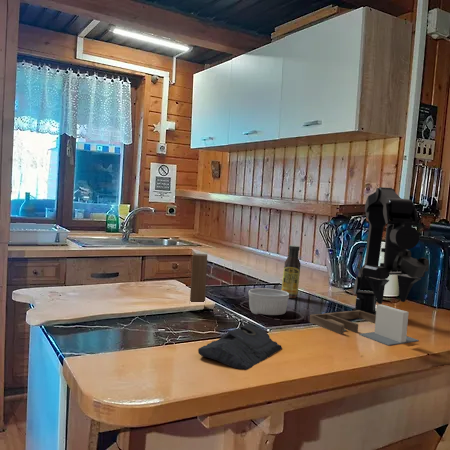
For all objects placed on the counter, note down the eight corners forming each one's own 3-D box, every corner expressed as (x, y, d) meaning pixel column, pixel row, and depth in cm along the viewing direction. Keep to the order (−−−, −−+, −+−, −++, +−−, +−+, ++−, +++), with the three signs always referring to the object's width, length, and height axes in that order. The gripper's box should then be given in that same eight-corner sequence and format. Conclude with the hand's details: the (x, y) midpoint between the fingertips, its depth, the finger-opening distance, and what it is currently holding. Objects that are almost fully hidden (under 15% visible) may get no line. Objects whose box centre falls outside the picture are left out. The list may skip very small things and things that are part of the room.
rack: (358, 319, 149) (359, 310, 149) (391, 330, 138) (392, 320, 138) (309, 324, 139) (310, 314, 139) (340, 337, 128) (341, 326, 127)
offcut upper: (330, 324, 138) (331, 319, 137) (344, 329, 132) (344, 324, 132) (322, 324, 136) (323, 319, 136) (335, 330, 131) (336, 324, 131)
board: (379, 332, 131) (381, 304, 131) (405, 341, 123) (408, 312, 123) (374, 333, 130) (376, 304, 130) (400, 342, 122) (403, 312, 122)
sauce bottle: (280, 297, 175) (283, 245, 174) (281, 294, 181) (285, 244, 180) (297, 299, 174) (301, 247, 173) (298, 296, 180) (302, 245, 179)
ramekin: (258, 306, 160) (259, 286, 159) (294, 313, 153) (295, 292, 153) (239, 313, 148) (241, 291, 148) (277, 320, 142) (279, 298, 141)
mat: (388, 333, 134) (389, 329, 134) (418, 343, 126) (418, 340, 126) (358, 337, 128) (359, 333, 128) (387, 348, 120) (388, 344, 120)
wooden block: (191, 305, 155) (194, 251, 154) (204, 306, 154) (208, 252, 154) (189, 311, 146) (192, 254, 145) (203, 312, 146) (206, 255, 145)
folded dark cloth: (186, 358, 105) (187, 337, 104) (232, 336, 124) (233, 318, 124) (246, 374, 97) (247, 352, 97) (286, 348, 116) (287, 329, 116)
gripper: (397, 249, 114) (392, 312, 115) (444, 249, 123) (439, 307, 124) (362, 244, 123) (358, 302, 124) (409, 244, 133) (405, 298, 134)
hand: (391, 302), depth 126 cm, fingers open, 9 cm apart
